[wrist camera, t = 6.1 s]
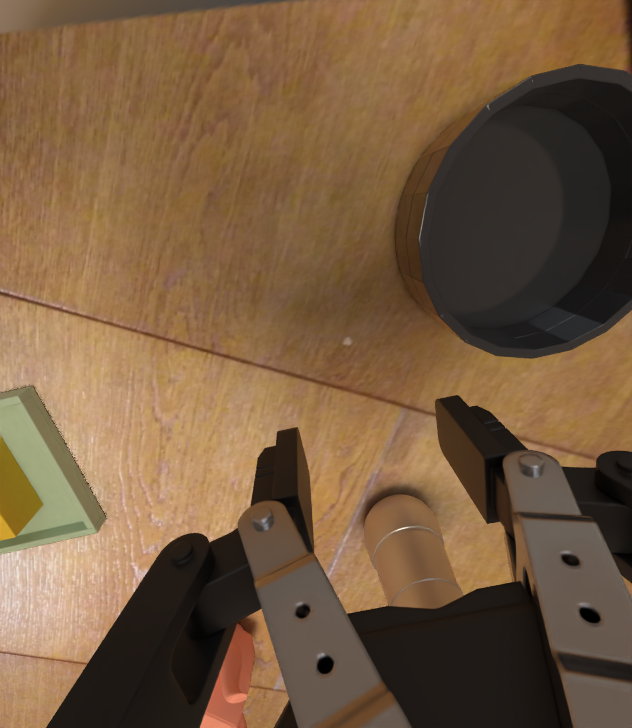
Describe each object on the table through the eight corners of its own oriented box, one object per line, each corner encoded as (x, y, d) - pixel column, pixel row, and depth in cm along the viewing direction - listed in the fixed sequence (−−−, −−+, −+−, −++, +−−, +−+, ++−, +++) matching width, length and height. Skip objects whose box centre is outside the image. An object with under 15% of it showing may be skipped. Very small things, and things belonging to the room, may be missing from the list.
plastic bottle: (348, 531, 36) (409, 877, 17) (377, 475, 33) (485, 800, 15) (409, 547, 37) (528, 886, 18) (441, 493, 35) (615, 816, 16)
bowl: (379, 130, 24) (402, 106, 19) (620, 70, 23) (712, 31, 18) (409, 352, 29) (434, 381, 24) (604, 307, 29) (671, 327, 24)
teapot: (255, 675, 42) (245, 806, 33) (146, 677, 42) (103, 813, 32) (257, 582, 37) (246, 705, 28) (132, 582, 36) (77, 710, 27)
